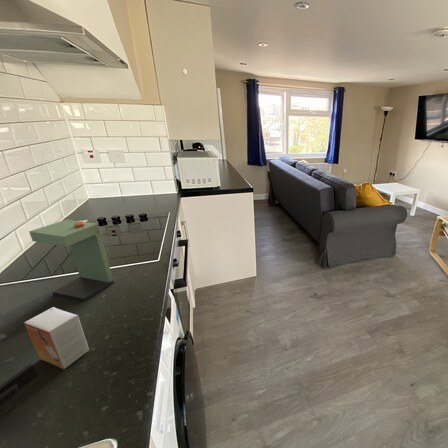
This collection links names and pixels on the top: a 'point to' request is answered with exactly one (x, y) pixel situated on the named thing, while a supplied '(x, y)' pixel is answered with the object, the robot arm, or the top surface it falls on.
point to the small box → (57, 337)
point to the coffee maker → (79, 256)
